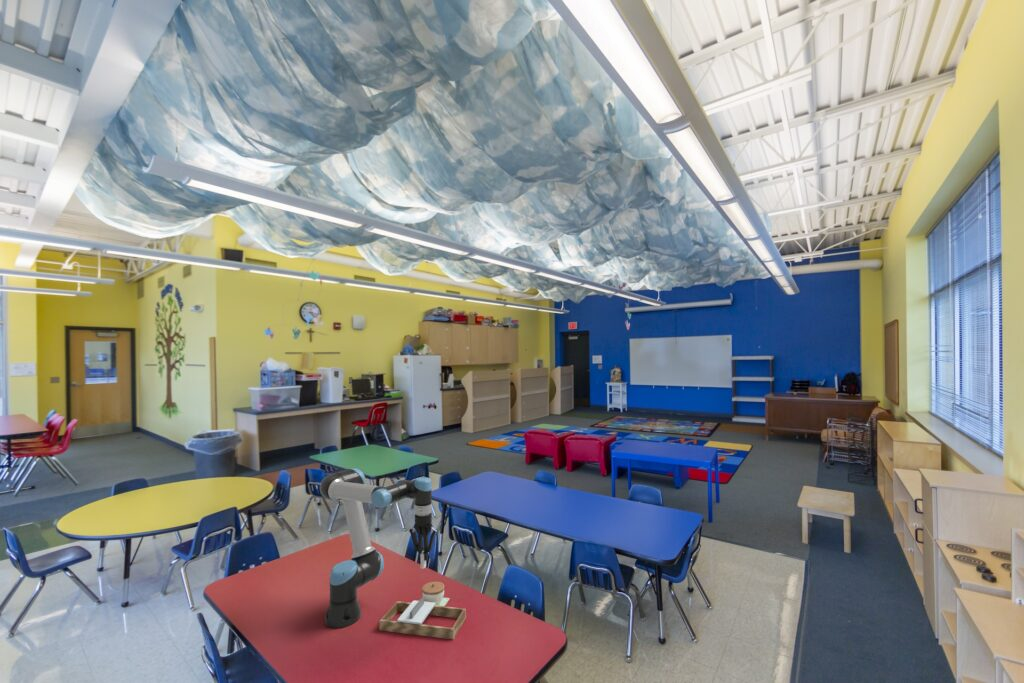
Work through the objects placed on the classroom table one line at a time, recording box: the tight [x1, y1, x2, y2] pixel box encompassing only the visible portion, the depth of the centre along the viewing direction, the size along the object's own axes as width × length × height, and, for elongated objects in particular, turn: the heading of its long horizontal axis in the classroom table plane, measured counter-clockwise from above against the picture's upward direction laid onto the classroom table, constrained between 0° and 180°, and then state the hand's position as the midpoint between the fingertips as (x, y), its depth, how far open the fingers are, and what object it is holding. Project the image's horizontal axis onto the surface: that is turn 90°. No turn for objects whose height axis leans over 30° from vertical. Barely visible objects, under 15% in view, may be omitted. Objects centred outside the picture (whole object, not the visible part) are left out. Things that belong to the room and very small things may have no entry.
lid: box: [396, 597, 436, 625], centre depth 193 cm, size 11×16×3 cm
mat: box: [438, 597, 450, 606], centre depth 208 cm, size 12×12×1 cm
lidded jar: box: [421, 581, 446, 606], centre depth 208 cm, size 11×11×9 cm
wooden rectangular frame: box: [379, 600, 467, 640], centre depth 192 cm, size 34×16×4 cm, turn 78°
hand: (423, 567), depth 194 cm, fingers closed
